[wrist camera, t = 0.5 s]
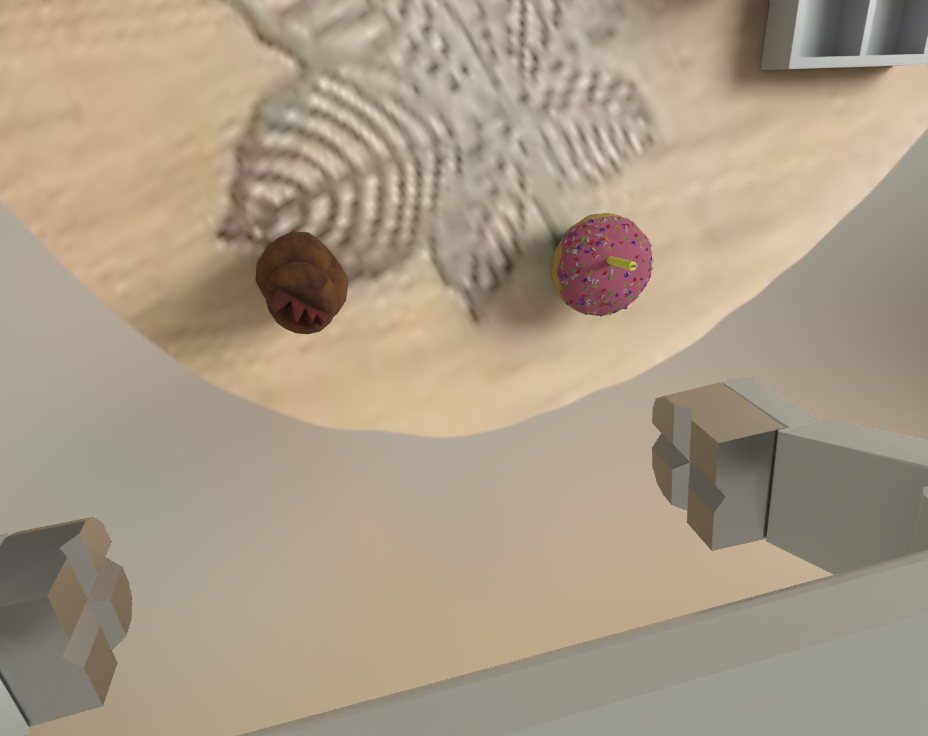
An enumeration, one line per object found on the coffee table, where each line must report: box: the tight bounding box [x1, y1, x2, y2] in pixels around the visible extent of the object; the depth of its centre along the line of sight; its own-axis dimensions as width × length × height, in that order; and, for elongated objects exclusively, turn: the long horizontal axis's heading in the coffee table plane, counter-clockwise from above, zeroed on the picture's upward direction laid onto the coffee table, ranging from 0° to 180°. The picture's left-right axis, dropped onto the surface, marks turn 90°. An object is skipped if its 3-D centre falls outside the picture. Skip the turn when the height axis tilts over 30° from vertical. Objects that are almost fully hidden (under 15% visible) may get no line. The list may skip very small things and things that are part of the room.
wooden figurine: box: [256, 231, 348, 334], centre depth 46 cm, size 7×6×15 cm
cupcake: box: [551, 213, 653, 317], centre depth 52 cm, size 9×8×12 cm
